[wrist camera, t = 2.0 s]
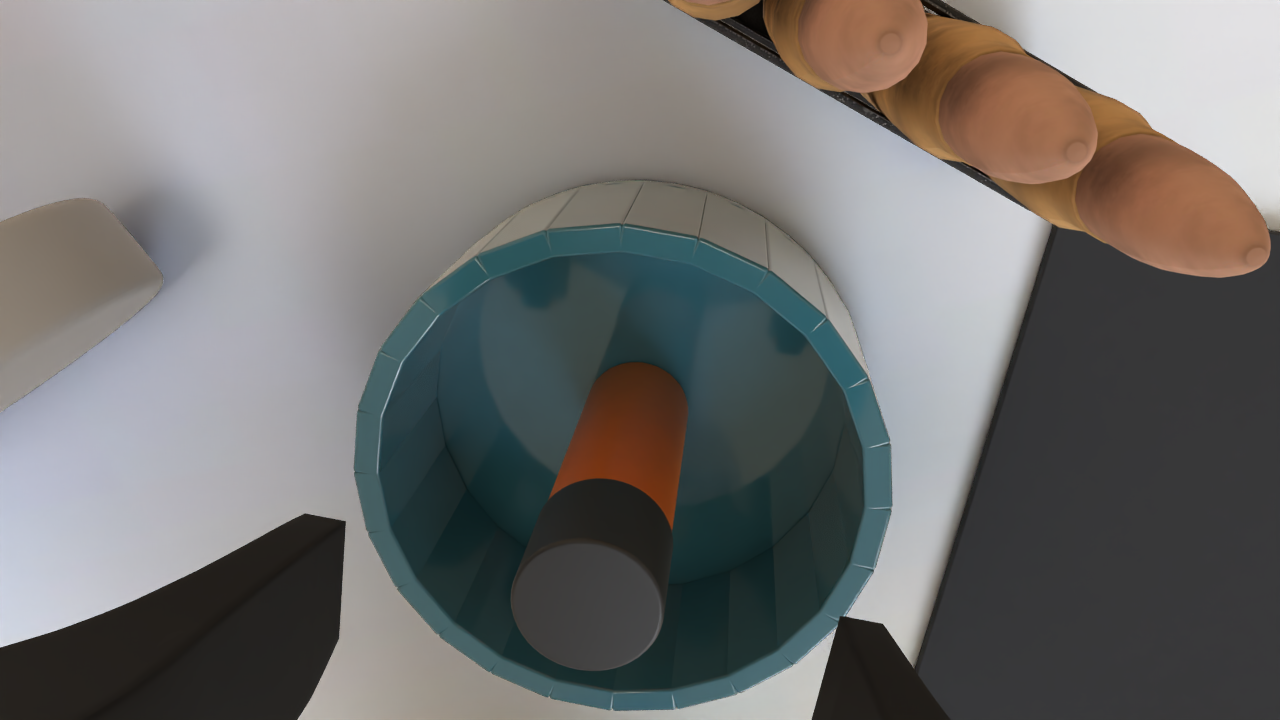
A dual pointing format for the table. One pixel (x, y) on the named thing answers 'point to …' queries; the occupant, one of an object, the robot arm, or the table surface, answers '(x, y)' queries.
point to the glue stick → (607, 526)
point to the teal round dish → (713, 448)
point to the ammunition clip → (1008, 124)
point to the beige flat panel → (64, 288)
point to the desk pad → (1123, 504)
